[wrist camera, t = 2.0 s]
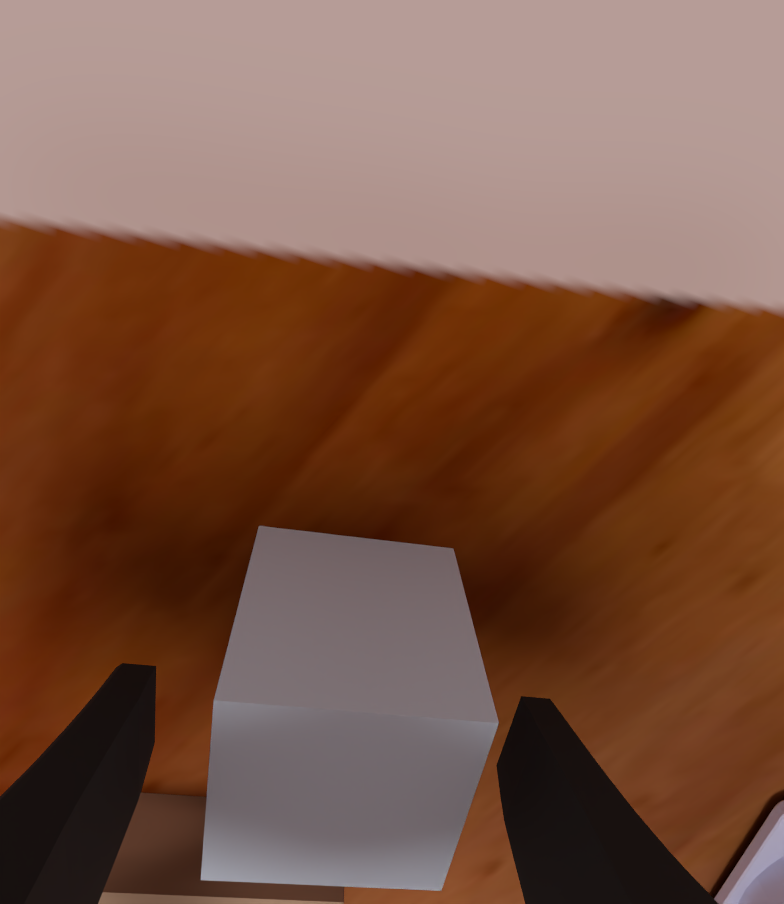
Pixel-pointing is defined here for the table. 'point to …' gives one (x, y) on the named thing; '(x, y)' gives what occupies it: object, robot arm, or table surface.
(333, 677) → the light grey block
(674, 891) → the robot arm
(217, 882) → the tan square block
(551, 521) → the table surface
